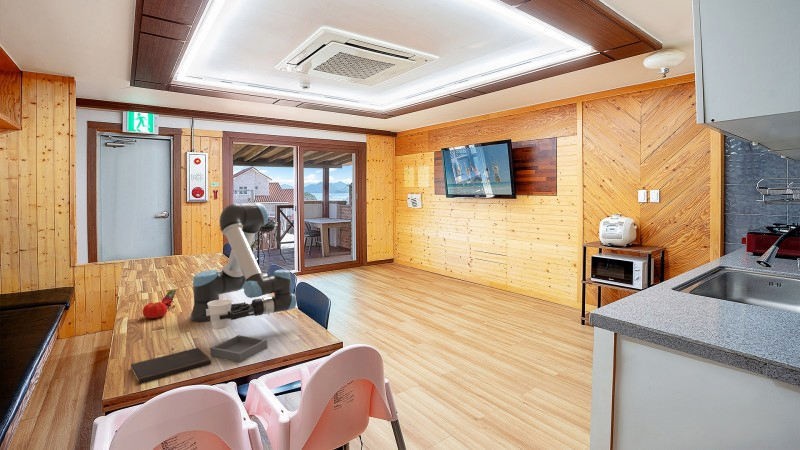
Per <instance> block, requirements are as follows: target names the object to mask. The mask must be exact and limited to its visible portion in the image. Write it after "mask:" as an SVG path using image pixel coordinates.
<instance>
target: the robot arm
mask: <svg viewBox="0 0 800 450" xmlns="http://www.w3.org/2000/svg"><path fill="white" fill-rule="evenodd" d="M268 221H269V213H268V210H267V207H266V206H265V205H264V204H263V203H259V202H252V203H248V202H247V203H231V204H228V205H227V206H226V207H224V209H222V211H221V213H220V216H219V227H220V231H221V233H222V235H224V236H225V237H226V239H227V241H228V243H229V246H230V248H231V251H230V255H229V257H228V260H227V263H226V264H224V265H223V267H222V270H221V271H218V270H215V269H211V270H205V271H201V272H198V273H196V274H194V276H193V279H192V289H193V290H192V291H193V307H192V311H191V313H190V320H191V321H193V322H208V321H210V323H212V322H213V321H218V320H224V319H227V318H228V319H229V320H231V321H234V320H237V319H242V318H246V317H253V316H254V317H257V316H262V315H268V316H269V315H270V314H274V313H279V312H280V313H281V312H286V311H291V310H293V309H294V310H295V308H296V306H297V296H296V295H295V294H294V293H291V285H292V284H291V281H292V280H291V279H292V278H291V272H290V270H288V269H277V270H275V271H274V272H273V275H272V276H267V277H264V275H263V273H262V270H261V268H260V265H259V264H258V261H257V258H256V257H255V254H254V252H253V250H252V248H251V247H252V245H253V241H254V237H255V235H256V234H257V233H259V232H260V230H261V227H264V226H266V225H267V224H268ZM241 290H243V293H244V295H245V296H246V297H247V298H249V299H252V298H255V299H252V300H251V303H246V302H245V301H244V302H240V303H239V302H238V303H232V304H231V310H230V311H228V314H227V312H225V313H220V314H214V315H210V312H209V308H208V305H207V303H208V302H210V301H214V300H219V299H220V295H223V294H227V293H233V292H238V291H241ZM269 294H274V295H273V296H267V297H261V296H265V295H269ZM259 297H261V298H259Z"/></svg>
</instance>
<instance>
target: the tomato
mask: <svg viewBox="0 0 800 450" xmlns="http://www.w3.org/2000/svg"><path fill="white" fill-rule="evenodd" d="M167 313H168V306H166V305H165V304H164V303H162V301H157V302H156V301H155V302H149V303H147V304H145V305H144V307H143V309H142V315H143V317H144V318H146V319H149V318H156V319H158V318H162V316H163V317H164V316H165V315H167Z"/></svg>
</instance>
